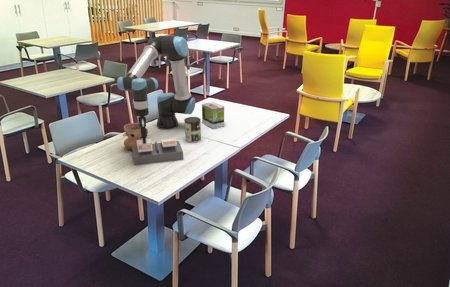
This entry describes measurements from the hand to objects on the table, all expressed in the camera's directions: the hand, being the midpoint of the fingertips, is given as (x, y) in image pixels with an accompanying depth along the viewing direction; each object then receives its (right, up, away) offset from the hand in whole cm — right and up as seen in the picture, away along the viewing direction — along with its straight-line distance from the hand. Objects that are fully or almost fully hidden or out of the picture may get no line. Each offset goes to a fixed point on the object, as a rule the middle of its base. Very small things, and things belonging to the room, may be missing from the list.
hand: (144, 148), depth 207 cm
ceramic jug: (-10, 0, +23) cm, 25 cm away
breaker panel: (+5, -5, +10) cm, 13 cm away
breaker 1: (-1, +1, +5) cm, 6 cm away
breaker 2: (+12, +3, +9) cm, 15 cm away
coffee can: (+24, +5, +33) cm, 42 cm away
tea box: (+37, +16, +58) cm, 71 cm away
